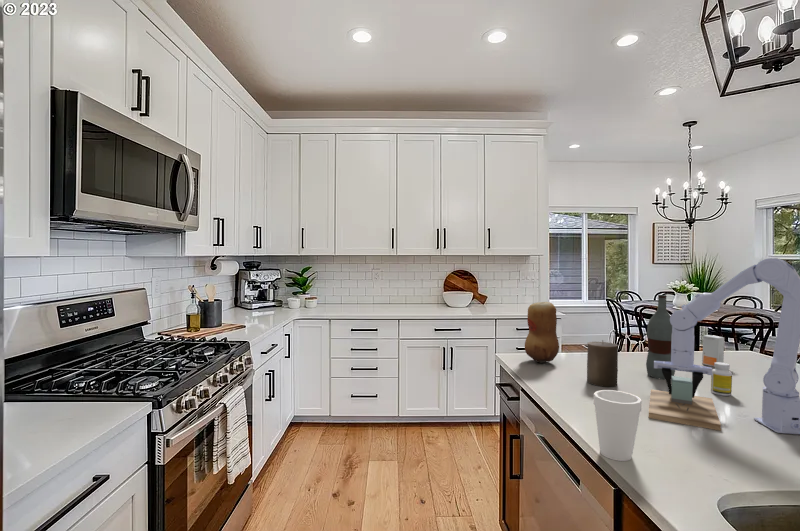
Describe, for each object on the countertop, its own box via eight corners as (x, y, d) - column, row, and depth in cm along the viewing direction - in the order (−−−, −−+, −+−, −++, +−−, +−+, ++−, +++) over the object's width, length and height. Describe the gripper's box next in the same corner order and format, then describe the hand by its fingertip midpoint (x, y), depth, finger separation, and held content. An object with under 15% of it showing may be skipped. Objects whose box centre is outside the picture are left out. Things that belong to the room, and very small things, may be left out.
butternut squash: (518, 359, 184) (519, 300, 183) (545, 357, 188) (546, 299, 187) (538, 367, 171) (539, 304, 170) (566, 365, 175) (567, 303, 174)
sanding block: (692, 404, 125) (692, 384, 125) (671, 401, 128) (672, 381, 128) (690, 397, 131) (691, 378, 131) (671, 395, 134) (671, 375, 134)
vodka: (681, 378, 157) (683, 295, 157) (663, 381, 154) (665, 296, 153) (657, 371, 166) (659, 293, 165) (640, 374, 163) (642, 294, 162)
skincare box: (701, 364, 178) (702, 335, 178) (707, 363, 180) (708, 334, 180) (717, 368, 173) (718, 338, 172) (724, 366, 174) (724, 337, 174)
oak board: (720, 430, 111) (720, 424, 111) (648, 417, 119) (648, 412, 119) (711, 403, 131) (712, 398, 131) (650, 393, 139) (650, 389, 139)
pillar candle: (619, 388, 145) (620, 343, 145) (587, 385, 148) (588, 341, 148) (615, 380, 154) (616, 338, 154) (585, 378, 157) (586, 336, 157)
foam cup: (599, 441, 104) (600, 387, 103) (643, 453, 98) (644, 395, 97) (587, 455, 96) (589, 397, 96) (634, 469, 90) (635, 407, 90)
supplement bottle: (735, 396, 137) (736, 366, 137) (715, 395, 138) (716, 365, 138) (725, 391, 143) (726, 362, 142) (707, 390, 144) (708, 361, 144)
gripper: (654, 349, 130) (653, 394, 130) (713, 355, 122) (712, 403, 123) (654, 345, 136) (653, 388, 136) (711, 351, 128) (710, 396, 129)
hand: (681, 395), depth 130 cm, fingers closed on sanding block, 5 cm apart
